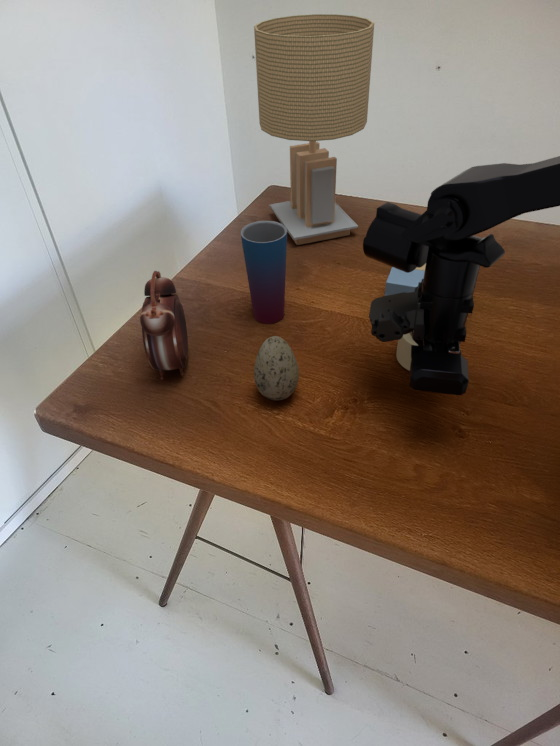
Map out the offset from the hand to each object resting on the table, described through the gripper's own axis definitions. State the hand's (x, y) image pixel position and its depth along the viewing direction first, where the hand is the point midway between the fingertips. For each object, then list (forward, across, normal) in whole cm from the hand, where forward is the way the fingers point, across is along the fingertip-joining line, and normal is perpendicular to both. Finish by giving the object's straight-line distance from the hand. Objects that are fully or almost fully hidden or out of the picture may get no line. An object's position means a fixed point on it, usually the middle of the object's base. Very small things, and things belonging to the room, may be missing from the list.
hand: (427, 383), depth 70 cm
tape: (+2, -8, 0) cm, 8 cm away
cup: (+2, -14, -25) cm, 29 cm away
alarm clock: (+2, 0, -37) cm, 37 cm away
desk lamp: (+2, -46, -24) cm, 52 cm away
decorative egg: (+2, +4, -20) cm, 20 cm away
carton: (+2, -20, 0) cm, 20 cm away
